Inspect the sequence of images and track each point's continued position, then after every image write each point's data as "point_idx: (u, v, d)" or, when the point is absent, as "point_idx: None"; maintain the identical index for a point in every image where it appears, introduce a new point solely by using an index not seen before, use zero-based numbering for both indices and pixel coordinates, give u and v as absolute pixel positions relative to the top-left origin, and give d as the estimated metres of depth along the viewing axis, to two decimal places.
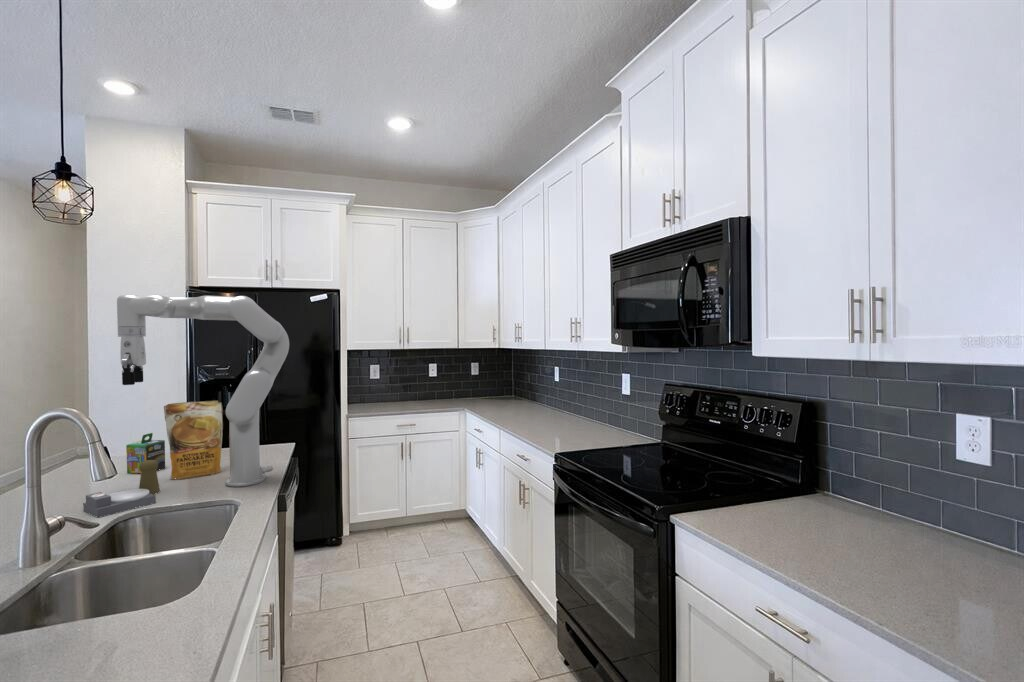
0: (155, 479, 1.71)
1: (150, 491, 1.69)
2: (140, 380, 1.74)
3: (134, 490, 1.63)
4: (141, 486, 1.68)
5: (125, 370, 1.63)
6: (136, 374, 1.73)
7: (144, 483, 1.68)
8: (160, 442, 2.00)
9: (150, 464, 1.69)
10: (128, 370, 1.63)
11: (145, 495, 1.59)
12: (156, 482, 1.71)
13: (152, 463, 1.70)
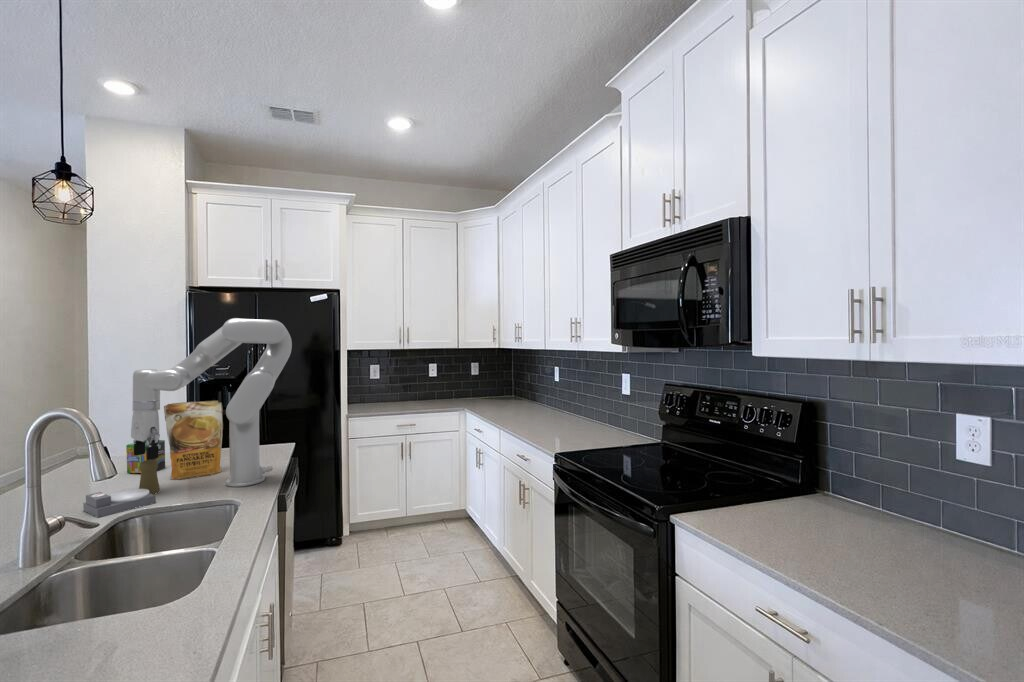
0: (155, 479, 1.71)
1: (150, 491, 1.69)
2: None
3: (134, 490, 1.63)
4: (141, 486, 1.68)
5: None
6: None
7: (144, 483, 1.68)
8: (160, 442, 2.00)
9: (150, 464, 1.69)
10: None
11: (145, 495, 1.59)
12: (156, 482, 1.71)
13: (152, 463, 1.70)
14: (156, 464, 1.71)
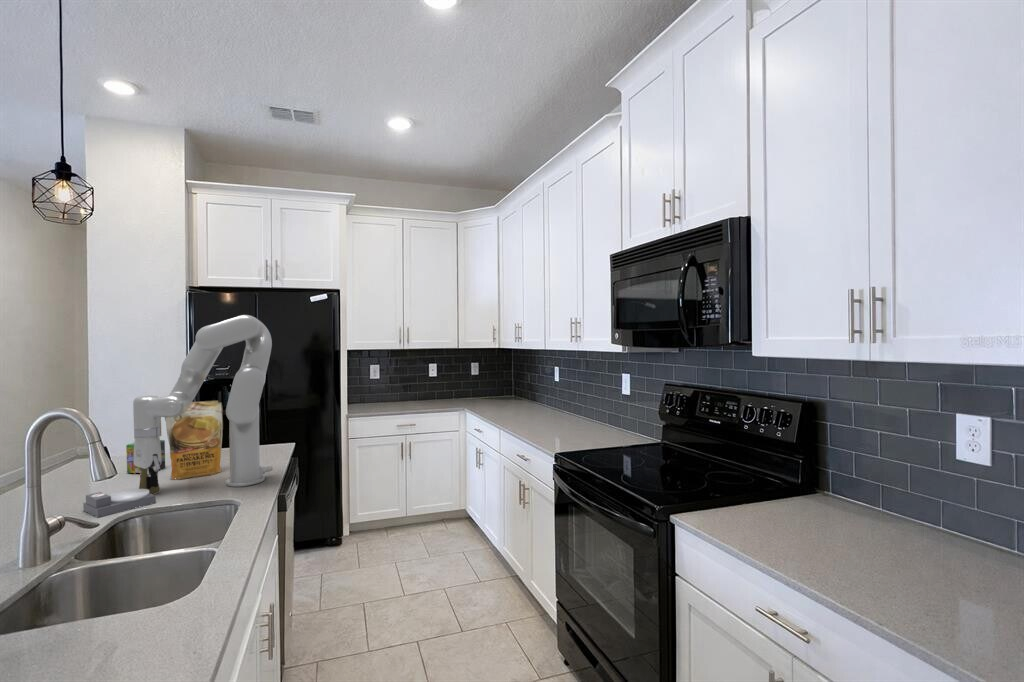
0: None
1: (150, 491, 1.69)
2: None
3: (134, 490, 1.63)
4: (141, 486, 1.69)
5: None
6: None
7: (144, 483, 1.69)
8: (160, 442, 2.00)
9: None
10: None
11: (145, 495, 1.59)
12: None
13: None
14: None
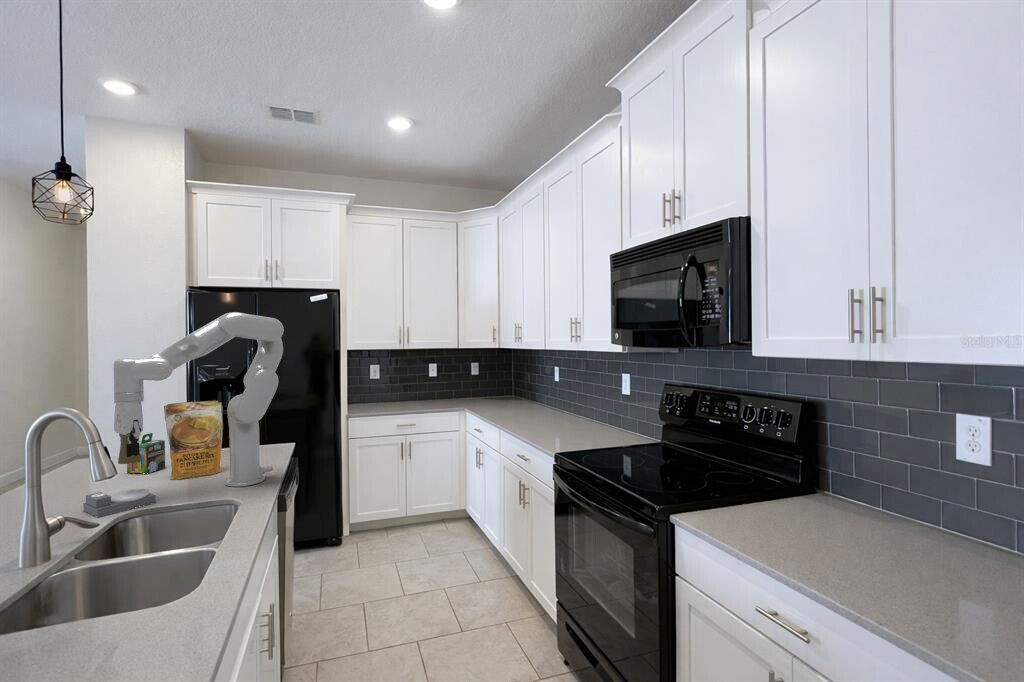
0: None
1: (130, 459, 1.59)
2: None
3: (134, 490, 1.63)
4: (121, 454, 1.58)
5: None
6: None
7: (124, 451, 1.58)
8: (160, 442, 2.00)
9: None
10: None
11: (145, 495, 1.59)
12: None
13: None
14: None
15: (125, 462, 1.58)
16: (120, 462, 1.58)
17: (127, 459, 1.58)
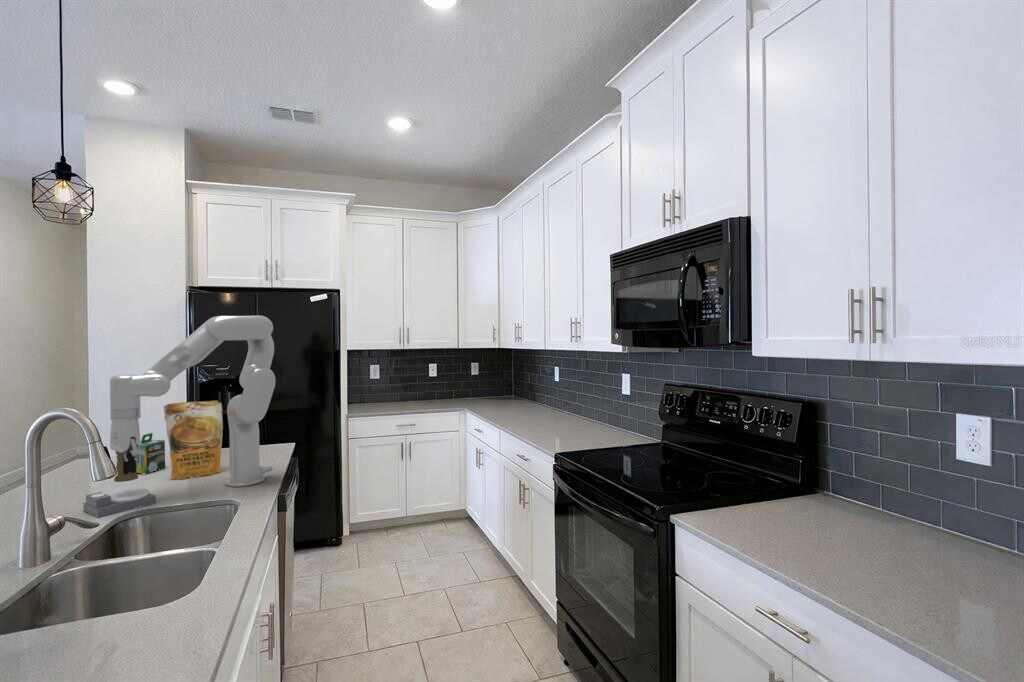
0: None
1: (127, 477, 1.57)
2: None
3: (134, 490, 1.63)
4: (117, 471, 1.56)
5: None
6: None
7: (120, 468, 1.56)
8: (160, 442, 2.00)
9: None
10: None
11: (145, 495, 1.59)
12: None
13: None
14: None
15: (122, 480, 1.56)
16: (116, 480, 1.56)
17: (123, 477, 1.56)
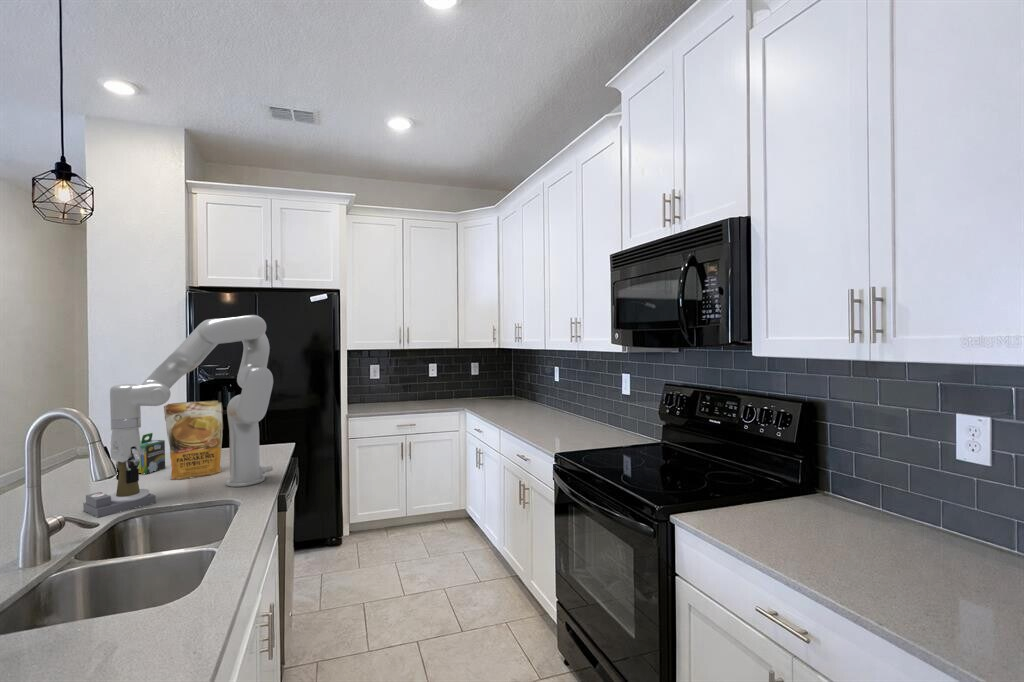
0: None
1: (128, 492, 1.57)
2: None
3: None
4: (119, 486, 1.57)
5: None
6: None
7: (122, 483, 1.57)
8: (160, 442, 2.00)
9: None
10: None
11: (145, 495, 1.59)
12: (135, 482, 1.59)
13: (131, 462, 1.58)
14: None
15: (123, 495, 1.57)
16: (118, 495, 1.57)
17: (125, 492, 1.57)
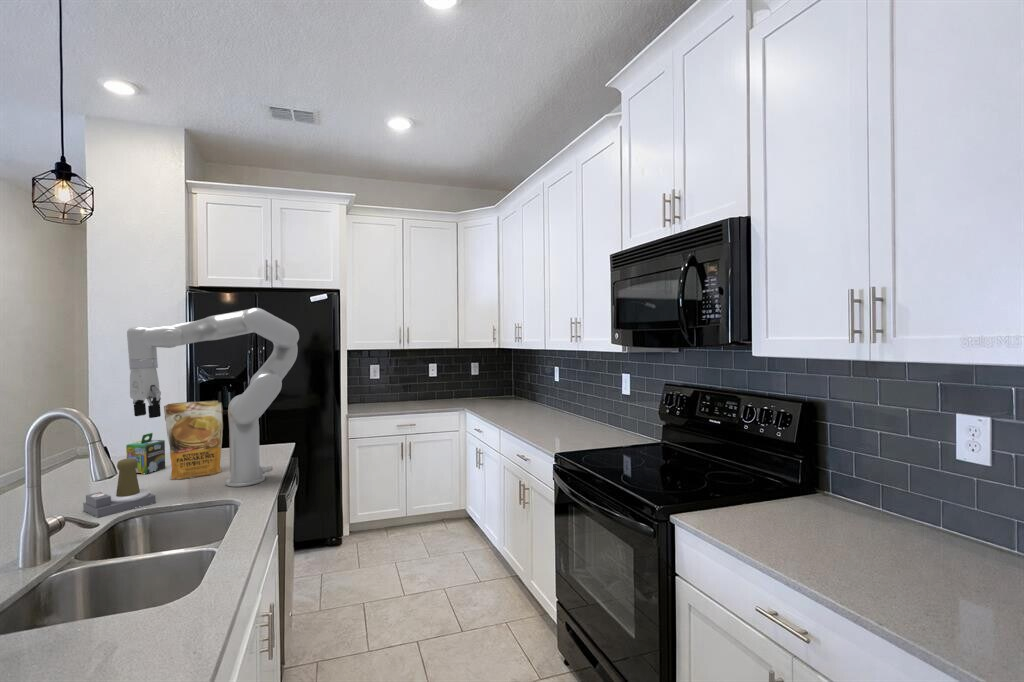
0: (134, 479, 1.59)
1: (128, 492, 1.57)
2: None
3: None
4: (119, 486, 1.57)
5: None
6: None
7: (122, 483, 1.57)
8: (160, 442, 2.00)
9: (128, 463, 1.57)
10: None
11: (145, 495, 1.59)
12: (135, 482, 1.59)
13: (131, 462, 1.58)
14: (135, 463, 1.59)
15: (123, 495, 1.57)
16: (118, 495, 1.57)
17: (125, 492, 1.57)
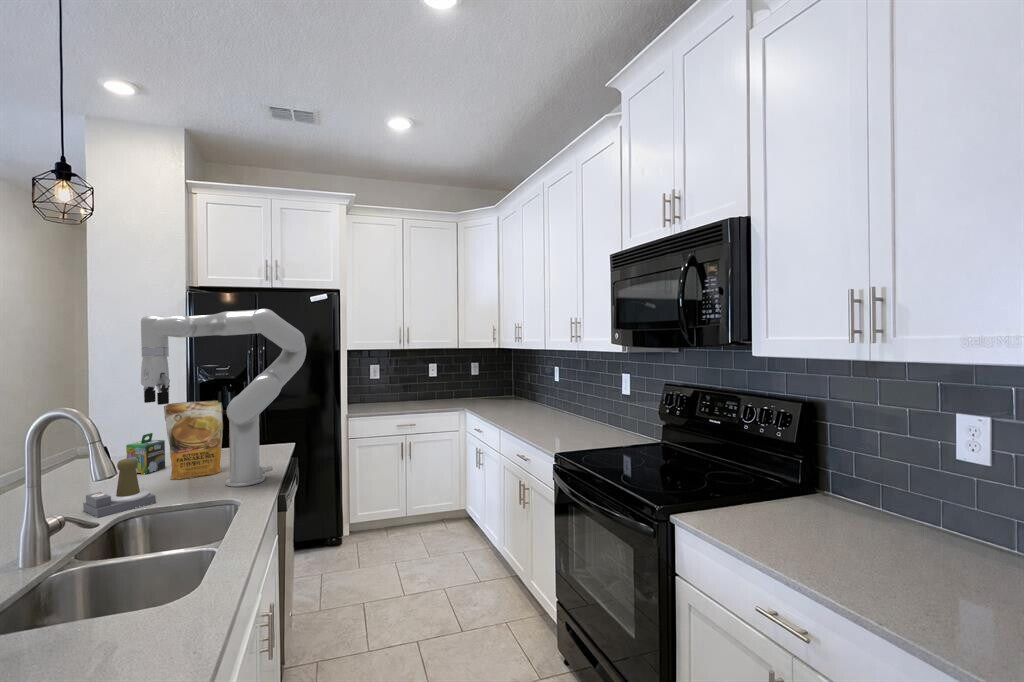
0: (134, 479, 1.59)
1: (129, 492, 1.57)
2: None
3: None
4: (119, 486, 1.57)
5: None
6: None
7: (122, 483, 1.57)
8: (160, 442, 2.00)
9: (128, 463, 1.58)
10: None
11: (145, 495, 1.59)
12: (135, 482, 1.59)
13: (131, 461, 1.58)
14: (135, 463, 1.59)
15: (123, 495, 1.57)
16: (118, 495, 1.57)
17: (125, 492, 1.57)
